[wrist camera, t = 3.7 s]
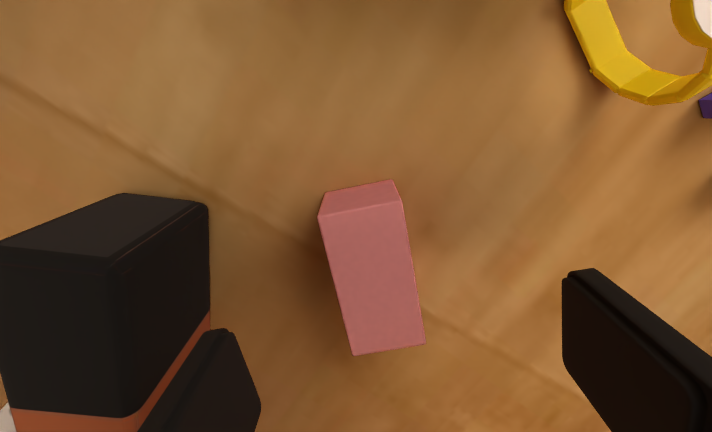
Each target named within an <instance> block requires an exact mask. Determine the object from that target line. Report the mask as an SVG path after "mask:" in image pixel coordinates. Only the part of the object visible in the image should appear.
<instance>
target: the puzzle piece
mask: <svg viewBox="0 0 712 432" xmlns="http://www.w3.org/2000/svg"><path fill="white" fill-rule="evenodd" d="M699 104H700V107H701V111H702V115H703V118H712V93H711V94H709V95H707V96H705V97H703V98H702V99H700V100H699Z"/></svg>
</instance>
